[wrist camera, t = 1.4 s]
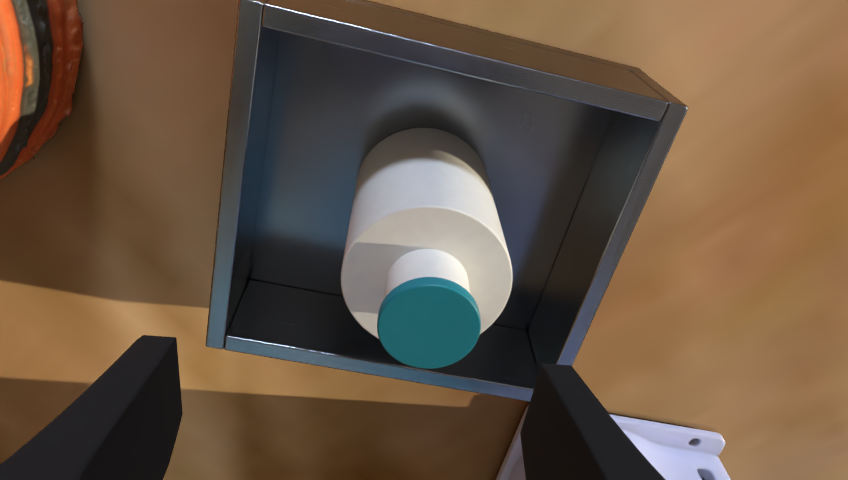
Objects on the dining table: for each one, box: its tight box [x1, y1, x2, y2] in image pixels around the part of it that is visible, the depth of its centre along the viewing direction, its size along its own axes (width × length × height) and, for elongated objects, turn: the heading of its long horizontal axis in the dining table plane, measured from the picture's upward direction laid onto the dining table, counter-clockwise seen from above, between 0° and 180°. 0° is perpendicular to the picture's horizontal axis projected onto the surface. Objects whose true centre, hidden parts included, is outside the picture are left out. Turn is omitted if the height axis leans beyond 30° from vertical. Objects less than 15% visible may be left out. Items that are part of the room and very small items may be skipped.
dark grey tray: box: [206, 0, 688, 402], centre depth 21 cm, size 12×11×4 cm
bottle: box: [341, 128, 513, 369], centre depth 19 cm, size 5×5×8 cm
